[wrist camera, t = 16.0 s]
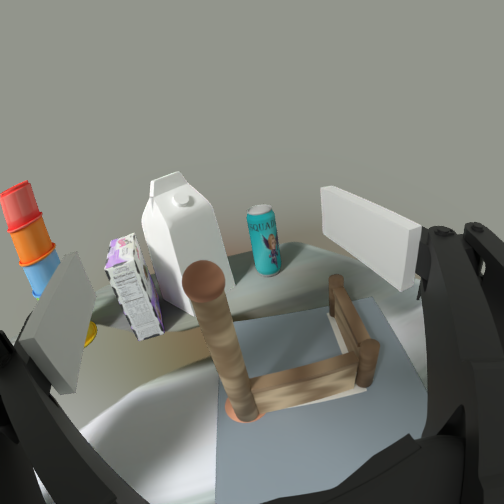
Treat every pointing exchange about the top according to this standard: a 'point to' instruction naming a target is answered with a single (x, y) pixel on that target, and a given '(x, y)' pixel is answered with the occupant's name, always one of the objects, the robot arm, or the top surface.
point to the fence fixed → (353, 331)
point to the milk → (181, 236)
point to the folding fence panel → (232, 363)
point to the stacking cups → (32, 241)
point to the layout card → (314, 410)
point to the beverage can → (264, 239)
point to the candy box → (134, 287)
